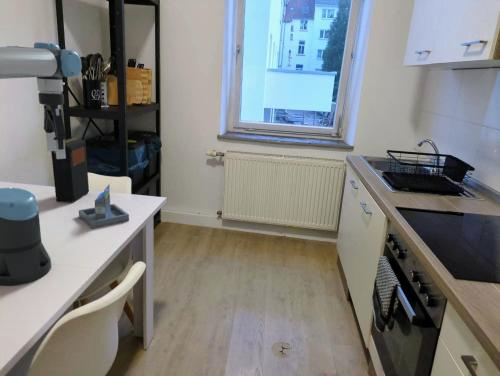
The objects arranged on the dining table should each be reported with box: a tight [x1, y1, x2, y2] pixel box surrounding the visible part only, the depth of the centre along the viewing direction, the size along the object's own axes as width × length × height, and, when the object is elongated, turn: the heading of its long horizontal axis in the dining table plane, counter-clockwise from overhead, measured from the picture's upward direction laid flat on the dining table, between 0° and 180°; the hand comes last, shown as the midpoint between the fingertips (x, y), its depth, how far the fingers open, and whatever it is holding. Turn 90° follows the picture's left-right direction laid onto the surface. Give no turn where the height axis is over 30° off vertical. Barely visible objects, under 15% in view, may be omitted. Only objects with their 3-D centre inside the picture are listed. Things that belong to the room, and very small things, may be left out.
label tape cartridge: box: [94, 183, 111, 220], centre depth 143 cm, size 9×4×12 cm, turn 8°
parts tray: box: [78, 203, 130, 230], centre depth 145 cm, size 14×14×2 cm
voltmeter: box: [50, 137, 90, 203], centre depth 161 cm, size 16×9×25 cm, turn 175°
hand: (56, 154), depth 132 cm, fingers open, 13 cm apart
